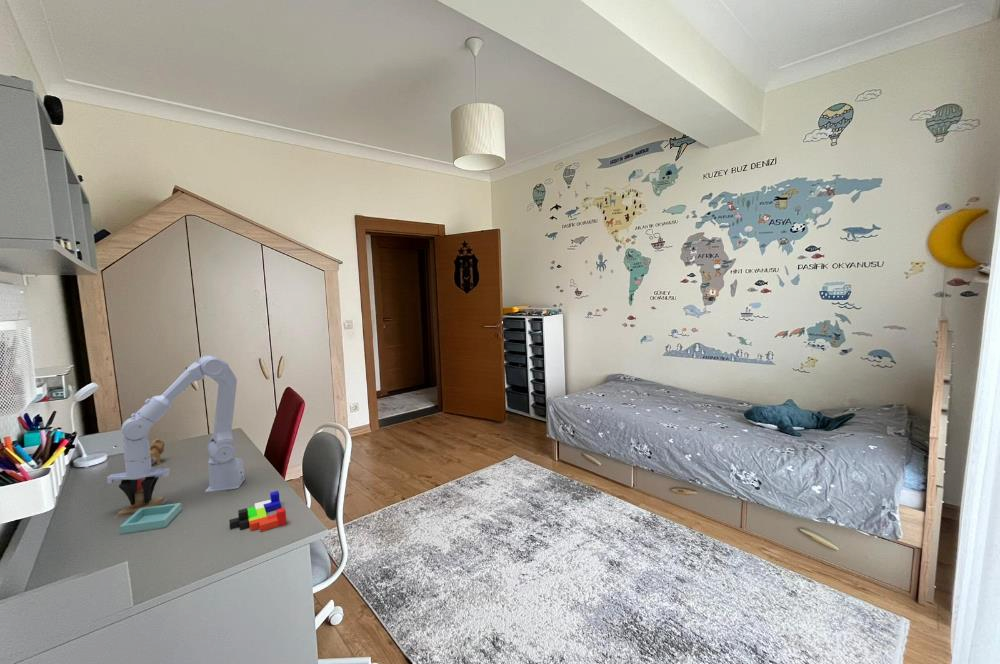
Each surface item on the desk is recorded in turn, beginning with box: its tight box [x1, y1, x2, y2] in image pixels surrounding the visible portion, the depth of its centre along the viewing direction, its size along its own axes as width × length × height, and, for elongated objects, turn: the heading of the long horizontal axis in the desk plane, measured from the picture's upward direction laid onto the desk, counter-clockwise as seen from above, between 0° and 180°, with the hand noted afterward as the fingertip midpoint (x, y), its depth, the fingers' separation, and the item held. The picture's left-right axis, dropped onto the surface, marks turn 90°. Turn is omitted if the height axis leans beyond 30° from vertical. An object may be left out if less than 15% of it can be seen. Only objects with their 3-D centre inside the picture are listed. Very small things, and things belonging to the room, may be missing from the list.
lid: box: [116, 490, 165, 518], centre depth 122 cm, size 8×8×5 cm
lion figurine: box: [150, 438, 165, 465], centre depth 153 cm, size 15×5×9 cm, turn 2°
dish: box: [119, 502, 183, 535], centre depth 114 cm, size 10×10×2 cm
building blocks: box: [228, 490, 287, 533], centre depth 115 cm, size 15×13×4 cm
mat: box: [112, 498, 169, 519], centre depth 122 cm, size 10×9×1 cm
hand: (141, 502), depth 122 cm, fingers closed on lid, 3 cm apart
